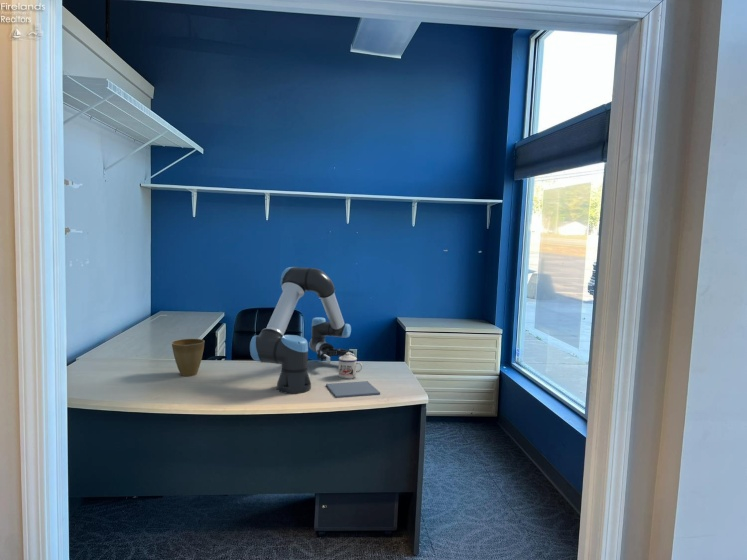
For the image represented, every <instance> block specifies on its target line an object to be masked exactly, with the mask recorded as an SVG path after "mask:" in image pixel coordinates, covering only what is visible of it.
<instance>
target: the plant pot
mask: <svg viewBox="0 0 747 560" xmlns="http://www.w3.org/2000/svg"><path fill="white" fill-rule="evenodd" d="M171 346H172V347H171V349H172V352H173V356H174V360H175V363H176V366H177V369H178V372H179V373H180V376H182V375H183V377H192V375H193V376H195V375H197V374H198V371H199V369H200V366H201V362H202V360H203V353H204V349H205V340H204V339H200V338H182V339H176V340H173V341H172V342H171Z"/></svg>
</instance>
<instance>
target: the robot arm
mask: <svg viewBox="0 0 747 560" xmlns="http://www.w3.org/2000/svg"><path fill="white" fill-rule="evenodd" d="M279 282H280V283H279V284H280V287H281V291H282V293H280V296H279V299H278V301H277V303H276V305H275V307H274V310H273V312H272V315H271V316H270V318H269V321H268V323H267V326H266V328H263V329H261V331H260V333H259V334H258V335H257V334H256V335H253V336H252V338H251V340H250V342H249V352H250V353H249V354H250V356H251V358H252V359H253V360H254V362H255V361H256V362H260V363H267V364H274V365H275V364H277V365H280V374H279V377H278V380H277V382H276V390H277V389H278V390H279V391H278V390H277V391H278V392H281V391H282V392H281V393H284V392H287V393H286V394H301V393H305V392H308V391H310V390H311V389H312V383H311V379H310V376H309V372H308V364H309V363H308V361H309V359H308V358H309V355H308V354H309V349H310V350H311V351H312V352H314V353H316V359H317V360H320V361H321V362H322V361H325V362H327V363H331V357H338V356H339V357H341V356H344V355H346V353H350V355H352V356H354V357H356V355H355V354H354V351H353V350H351V349H350V350H349V349H345V348H335V347H334V346H333V345H332V344H330V343H329V342H326V337H336V338H349V337H350V336H351V332H352V326H351V324H349V323H345V320H344V318H343V315H342V311H341V309H340V305H339V303H338V300H337V297H336V293H335V292H336V287H335V285H334V282H333V281H332V279H331V278H330V277H329V276H328V275H327V274H326V273H325V271H323V270H322V269H318V268H315V267H301V266H299V267H298V266H289V267H286V268H285V269H284V270H283V271H282V272H281V276H280V281H279ZM306 292H313V293H315V294H316V296H317V297H318V298H320V301H321V303H322V306H323V308H324V311H325V314H326V317H327V319H328V321H326V318H325V317H321V316H320V317H313V318H312V321H311V338H310V340H309V342H308V340H307V339H306V338H305V337H303V336H299V335H297V334H296V335H295V334H285V333H286V330H287V329H288V325H289V323H290V320H291V319H292V316H293V313H294V311H295V308H296V306H297V304H298V302H299V300H300V299H301V298H302V297H304V296H305V293H306Z"/></svg>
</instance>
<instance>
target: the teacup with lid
mask: <svg viewBox="0 0 747 560" xmlns="http://www.w3.org/2000/svg"><path fill="white" fill-rule="evenodd" d="M337 360H338V377H339V378H341V379H346V378H350V379H355V378H356V377H357V373H360V372H361V371H362V370H363V363H362V362H359V361H358V362H357V360H358V358H357V357H356V356H355V357H354V356H352V355H350V353H346V355H344V356H339V357H338V359H337ZM357 365H360V369H359V370H357Z"/></svg>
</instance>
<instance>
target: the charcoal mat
mask: <svg viewBox="0 0 747 560" xmlns="http://www.w3.org/2000/svg"><path fill="white" fill-rule="evenodd" d="M325 386H326V387H327V389H328V390H329V391H330V392H331V393H332V394H333V396H334V397H335V398H338V399H339V398H349V397H364V396H365V397H366V396H376V395H381V392H380V391H379V390H378V389H377V388H376V387H375V386H374V385H372V384H371V383H370V382H369V381H367V380H365V381H364V380H363V381H348V382H335V383H333V382H332V383H326V384H325Z"/></svg>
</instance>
